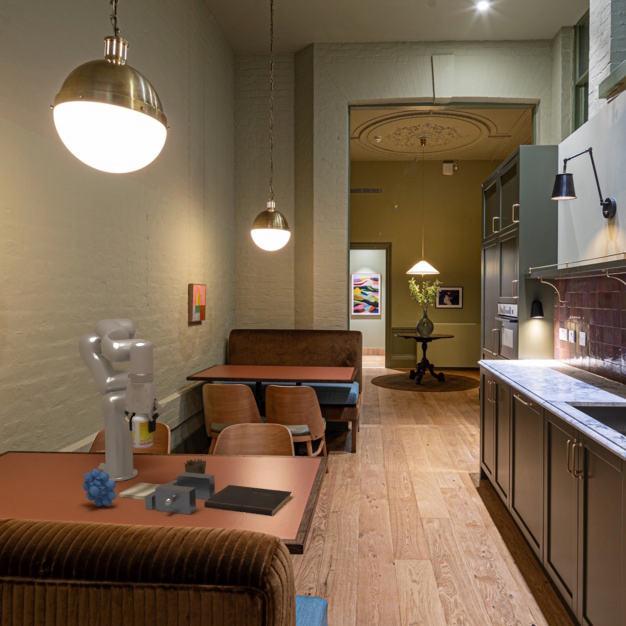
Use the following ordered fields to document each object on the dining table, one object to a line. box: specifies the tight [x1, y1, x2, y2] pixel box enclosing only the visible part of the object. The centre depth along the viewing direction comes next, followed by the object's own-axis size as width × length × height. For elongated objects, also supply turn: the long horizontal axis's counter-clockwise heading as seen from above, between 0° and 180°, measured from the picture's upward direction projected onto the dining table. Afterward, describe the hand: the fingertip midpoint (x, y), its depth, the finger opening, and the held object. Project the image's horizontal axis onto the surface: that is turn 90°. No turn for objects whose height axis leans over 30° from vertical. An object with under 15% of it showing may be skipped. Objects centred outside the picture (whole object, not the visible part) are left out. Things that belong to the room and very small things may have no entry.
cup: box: [184, 458, 207, 474], centre depth 187 cm, size 8×7×8 cm
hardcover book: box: [204, 484, 293, 517], centre depth 170 cm, size 16×23×2 cm
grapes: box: [82, 468, 117, 508], centre depth 167 cm, size 12×7×12 cm, turn 78°
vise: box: [144, 471, 216, 515], centre depth 169 cm, size 16×19×7 cm
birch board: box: [118, 481, 160, 501], centre depth 180 cm, size 11×11×1 cm
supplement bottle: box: [132, 413, 154, 449], centre depth 179 cm, size 7×7×13 cm
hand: (142, 430), depth 179 cm, fingers closed on supplement bottle, 6 cm apart
